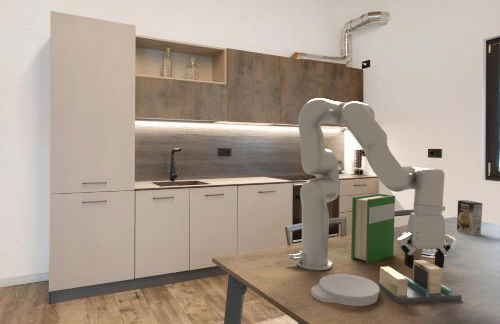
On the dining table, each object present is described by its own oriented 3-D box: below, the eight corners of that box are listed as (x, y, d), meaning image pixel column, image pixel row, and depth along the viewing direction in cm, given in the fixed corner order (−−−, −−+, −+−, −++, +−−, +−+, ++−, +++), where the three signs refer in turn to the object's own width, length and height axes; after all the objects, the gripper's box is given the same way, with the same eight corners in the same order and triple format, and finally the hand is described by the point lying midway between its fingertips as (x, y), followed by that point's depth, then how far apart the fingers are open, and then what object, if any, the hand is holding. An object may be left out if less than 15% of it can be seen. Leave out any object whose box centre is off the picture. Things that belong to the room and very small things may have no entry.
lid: (301, 285, 109) (301, 276, 109) (359, 281, 114) (359, 272, 114) (325, 311, 92) (325, 300, 92) (392, 304, 97) (392, 293, 97)
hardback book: (367, 263, 130) (369, 199, 129) (351, 258, 136) (352, 197, 134) (393, 255, 141) (395, 195, 140) (376, 250, 146) (378, 193, 145)
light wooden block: (411, 282, 108) (412, 260, 108) (423, 282, 109) (424, 260, 108) (428, 293, 100) (429, 269, 100) (440, 293, 101) (441, 269, 100)
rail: (399, 303, 97) (399, 280, 97) (377, 286, 109) (378, 265, 108) (461, 300, 99) (462, 277, 99) (434, 283, 111) (434, 263, 111)
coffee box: (455, 231, 182) (457, 200, 181) (465, 230, 184) (466, 199, 183) (471, 235, 173) (473, 203, 173) (481, 234, 175) (482, 202, 175)
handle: (420, 264, 129) (421, 224, 128) (404, 260, 135) (405, 221, 134) (428, 262, 131) (429, 223, 131) (412, 258, 137) (413, 220, 136)
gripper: (445, 207, 108) (442, 261, 109) (393, 207, 106) (390, 262, 107) (463, 212, 101) (459, 270, 102) (407, 212, 98) (403, 272, 100)
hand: (423, 266), depth 104 cm, fingers open, 9 cm apart
